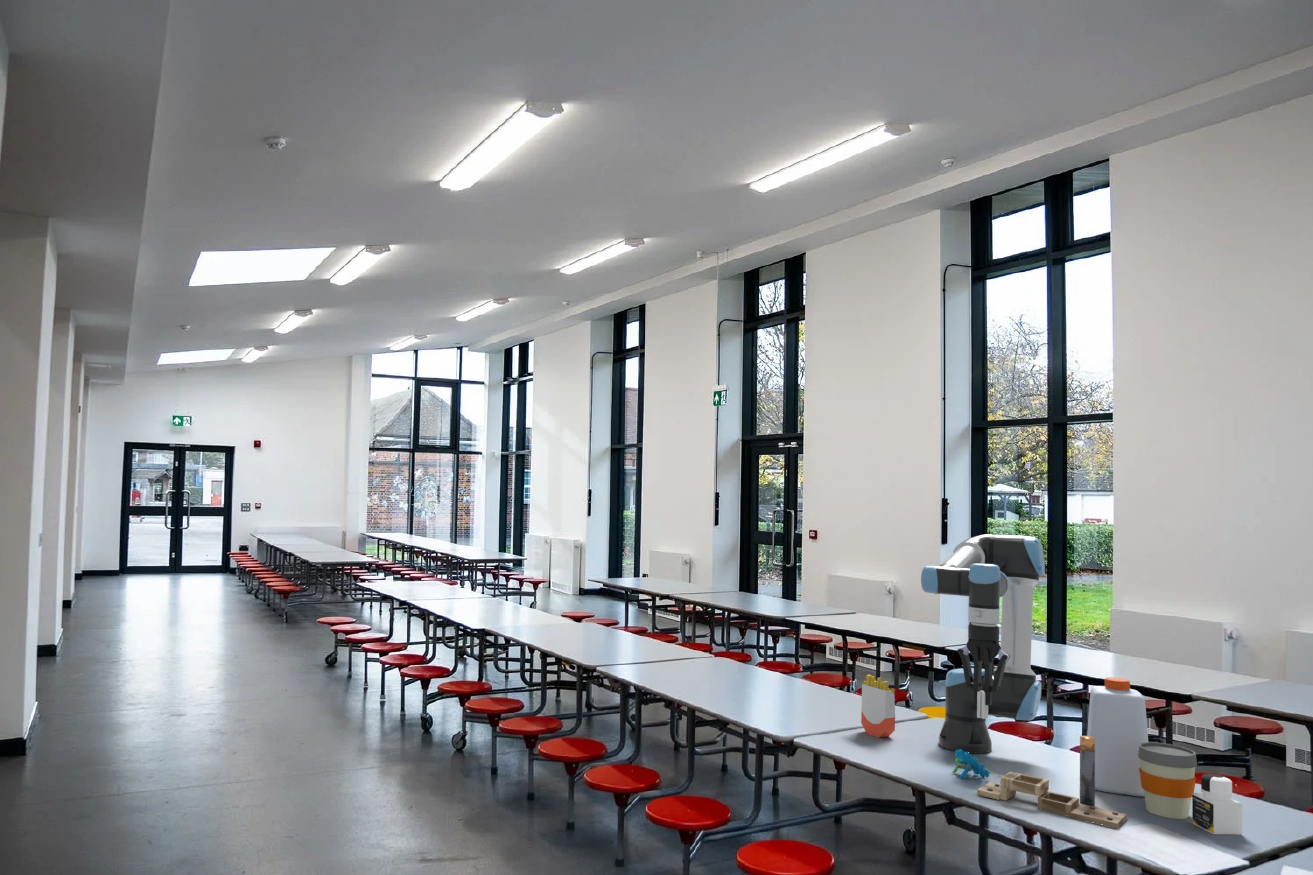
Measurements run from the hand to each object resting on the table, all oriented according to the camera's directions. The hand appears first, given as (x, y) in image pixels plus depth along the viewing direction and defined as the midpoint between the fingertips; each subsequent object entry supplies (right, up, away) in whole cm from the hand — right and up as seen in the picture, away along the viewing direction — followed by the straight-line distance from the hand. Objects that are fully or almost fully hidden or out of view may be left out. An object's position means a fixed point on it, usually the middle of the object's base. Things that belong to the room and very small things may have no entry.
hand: (982, 717), depth 230 cm
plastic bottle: (+38, -21, +7) cm, 44 cm away
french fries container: (-14, -22, +52) cm, 58 cm away
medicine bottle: (+46, -19, -23) cm, 54 cm away
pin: (+23, -19, -8) cm, 31 cm away
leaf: (+5, -18, -6) cm, 20 cm away
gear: (+1, -20, +10) cm, 22 cm away
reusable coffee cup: (+40, -19, -12) cm, 46 cm away
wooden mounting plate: (+17, -18, -16) cm, 30 cm away
